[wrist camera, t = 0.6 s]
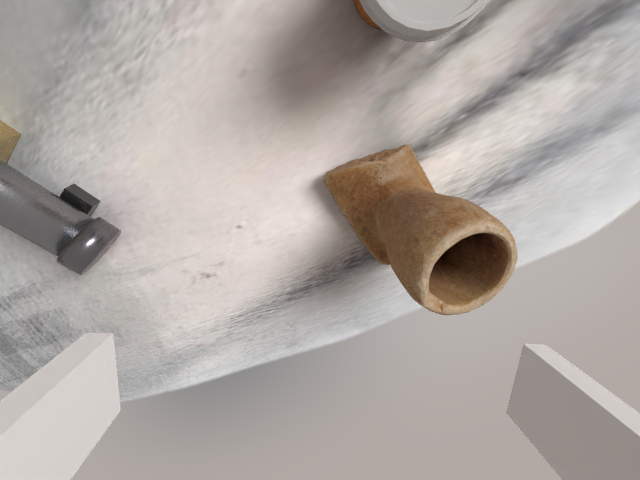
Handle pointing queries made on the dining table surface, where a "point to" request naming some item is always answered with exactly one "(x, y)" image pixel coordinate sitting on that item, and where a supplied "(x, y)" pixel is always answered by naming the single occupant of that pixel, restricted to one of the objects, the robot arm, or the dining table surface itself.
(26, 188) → the valve pipe
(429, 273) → the tan flared piece
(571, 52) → the dining table surface
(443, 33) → the disposable coffee cup
